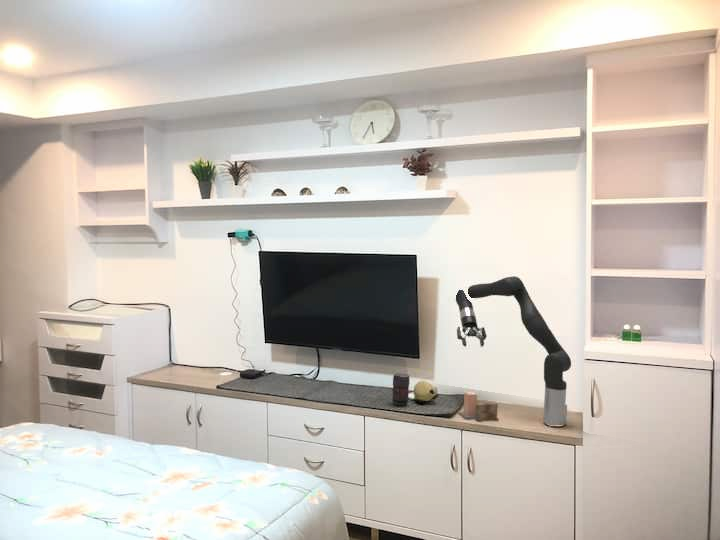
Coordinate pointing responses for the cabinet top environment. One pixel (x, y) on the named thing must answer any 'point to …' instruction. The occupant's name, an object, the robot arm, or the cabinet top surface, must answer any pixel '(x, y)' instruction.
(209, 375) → the cabinet top surface
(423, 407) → the cabinet top surface
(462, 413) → the slate pad
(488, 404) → the walnut board
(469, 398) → the salmon pink rectangular block
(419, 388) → the yellow round lump
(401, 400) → the camera lens
